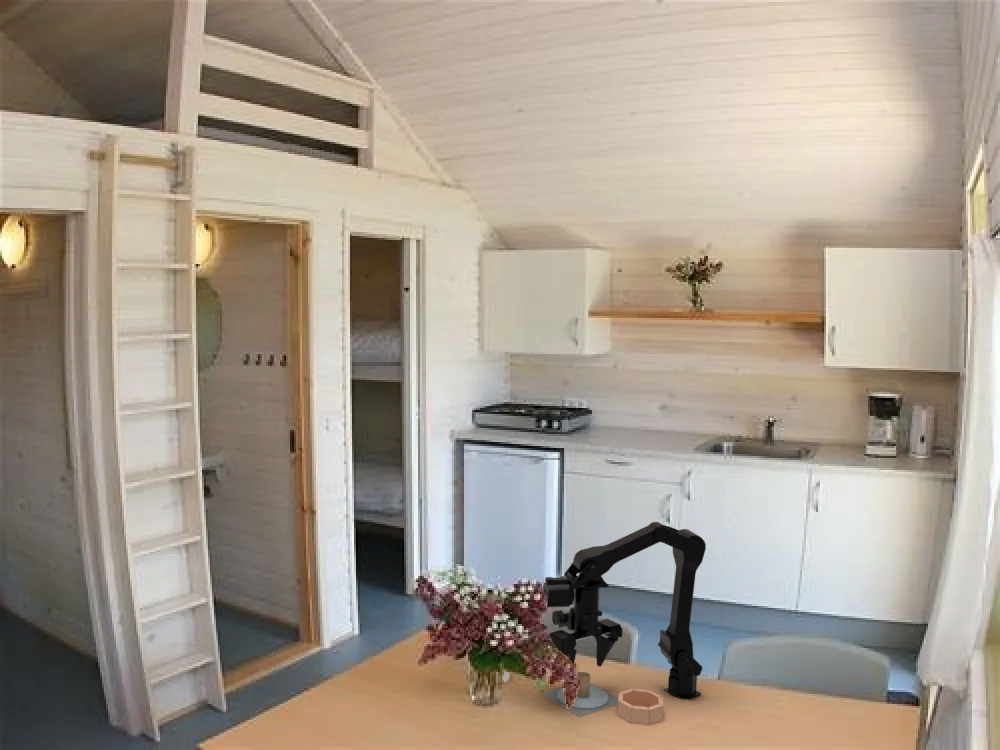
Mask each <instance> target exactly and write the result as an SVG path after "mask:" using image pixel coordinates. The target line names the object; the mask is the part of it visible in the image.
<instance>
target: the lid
mask: <svg viewBox="0 0 1000 750" xmlns="http://www.w3.org/2000/svg"><path fill="white" fill-rule="evenodd" d="M577 673H578V677H579V679H580V681H581V686H580V688H579V689H578V694H577V698H576V700H575V702H574V704H573V706H572V708H576V709H585V710H589V709H597V708H600V707H603V706H605V705H606V704H607V703H608V694H607V693H608V692H607V691H606V692H607V693H606V692H605V690H604V689H602V688H600V687H598V686H597V687H598V688H597V687H594V686H590V683H591V674H590V673H589V672H586V671H580V672H577ZM560 688H561V689H560V690H559V691H558V692H557V698H558V700H559V701H560V702H561V703H562V704H564V705H566V703H565V699H564V693H563V688H562V687H560ZM603 690H604V691H603Z"/></svg>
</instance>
